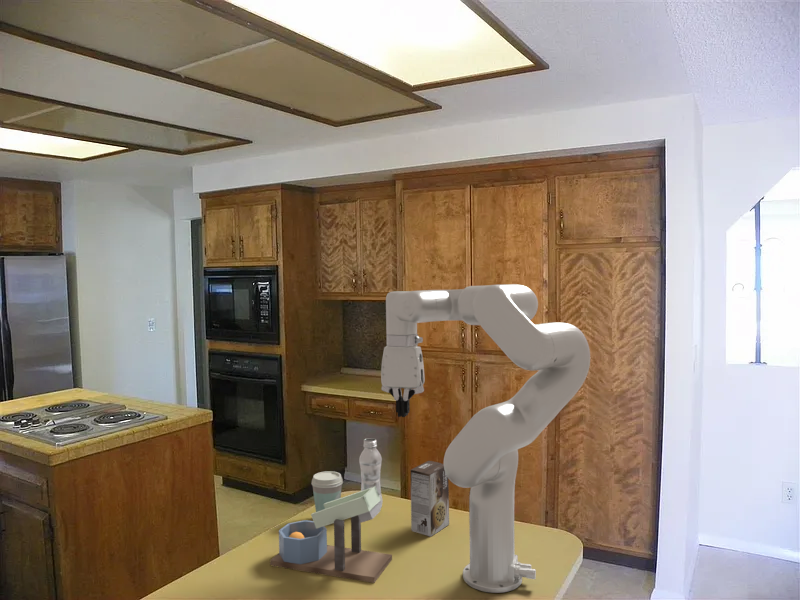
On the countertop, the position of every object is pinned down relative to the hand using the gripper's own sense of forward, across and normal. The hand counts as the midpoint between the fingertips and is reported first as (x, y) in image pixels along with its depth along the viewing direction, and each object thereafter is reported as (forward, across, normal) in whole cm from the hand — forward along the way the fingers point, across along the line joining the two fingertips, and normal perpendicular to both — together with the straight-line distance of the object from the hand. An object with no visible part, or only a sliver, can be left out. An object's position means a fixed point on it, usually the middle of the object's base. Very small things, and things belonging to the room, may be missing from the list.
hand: (402, 415), depth 145 cm
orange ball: (+27, +21, +16) cm, 38 cm away
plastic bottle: (+31, +15, -15) cm, 38 cm away
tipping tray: (+21, +7, +13) cm, 26 cm away
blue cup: (+30, +19, +16) cm, 39 cm away
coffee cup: (+31, +24, -6) cm, 40 cm away
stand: (+31, +12, +16) cm, 37 cm away
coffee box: (+31, -4, -9) cm, 33 cm away
